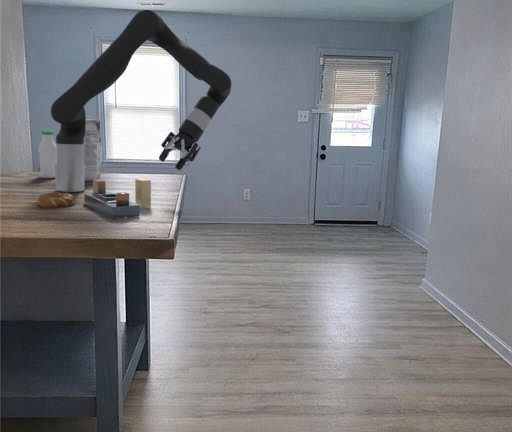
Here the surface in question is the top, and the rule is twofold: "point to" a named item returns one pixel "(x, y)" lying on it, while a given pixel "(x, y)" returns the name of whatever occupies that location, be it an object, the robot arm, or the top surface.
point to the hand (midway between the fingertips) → (168, 164)
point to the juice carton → (92, 149)
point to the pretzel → (56, 200)
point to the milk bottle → (47, 155)
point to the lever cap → (143, 193)
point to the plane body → (110, 202)
